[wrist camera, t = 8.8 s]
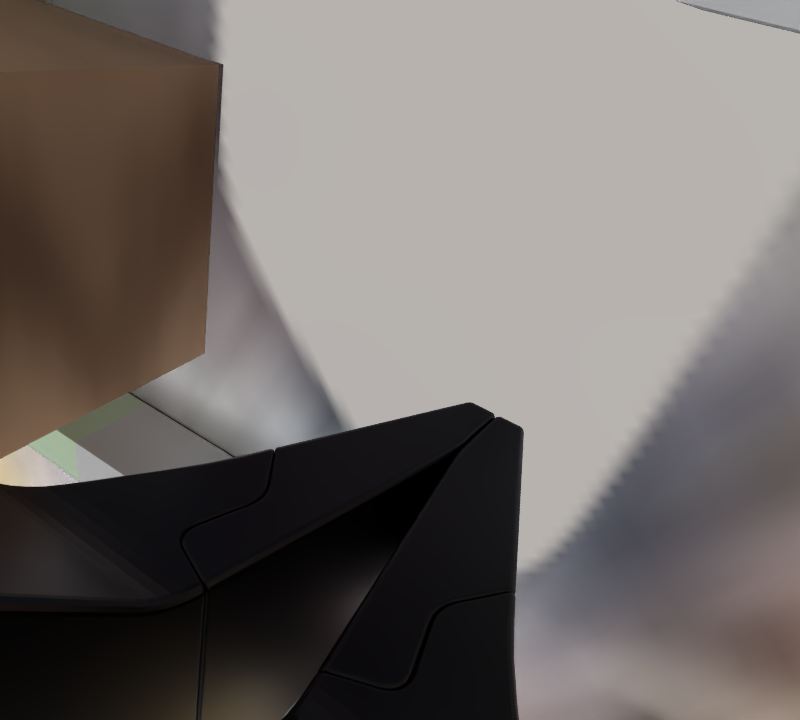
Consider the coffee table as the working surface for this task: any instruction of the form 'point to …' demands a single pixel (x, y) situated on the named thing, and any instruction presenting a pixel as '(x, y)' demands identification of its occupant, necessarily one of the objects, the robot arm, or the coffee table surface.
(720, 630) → the coffee table surface
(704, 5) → the lane
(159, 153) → the walnut block
